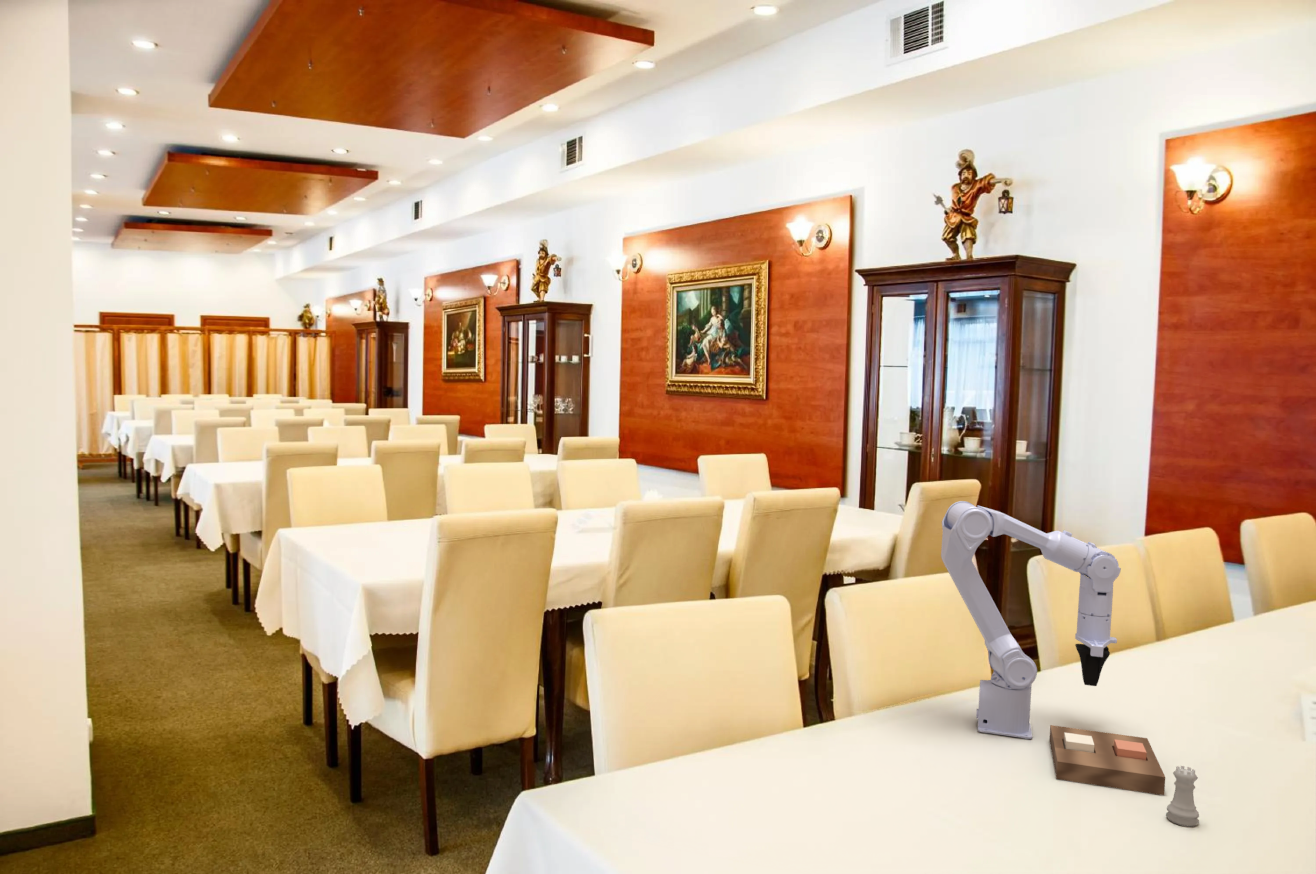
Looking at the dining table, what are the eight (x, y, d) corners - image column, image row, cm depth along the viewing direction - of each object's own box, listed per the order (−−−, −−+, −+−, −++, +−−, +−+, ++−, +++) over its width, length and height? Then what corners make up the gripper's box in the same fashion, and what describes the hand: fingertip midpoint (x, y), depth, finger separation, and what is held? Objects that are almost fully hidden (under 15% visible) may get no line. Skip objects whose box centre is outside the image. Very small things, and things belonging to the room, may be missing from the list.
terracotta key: (1116, 768, 162) (1117, 748, 162) (1113, 759, 166) (1114, 739, 166) (1145, 772, 161) (1146, 752, 160) (1141, 763, 165) (1142, 743, 165)
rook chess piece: (1195, 817, 146) (1199, 766, 146) (1201, 830, 142) (1205, 777, 141) (1163, 812, 148) (1166, 761, 147) (1168, 824, 143) (1171, 772, 143)
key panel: (1056, 779, 159) (1057, 761, 159) (1049, 741, 176) (1050, 724, 176) (1164, 795, 154) (1165, 777, 153) (1146, 754, 171) (1147, 738, 170)
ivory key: (1065, 761, 165) (1066, 741, 164) (1063, 751, 169) (1064, 732, 168) (1093, 765, 163) (1094, 745, 163) (1090, 755, 167) (1091, 736, 167)
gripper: (1123, 624, 171) (1118, 699, 171) (1113, 606, 184) (1108, 676, 185) (1080, 620, 173) (1075, 694, 174) (1073, 602, 187) (1069, 671, 187)
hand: (1090, 684), depth 180 cm, fingers closed
